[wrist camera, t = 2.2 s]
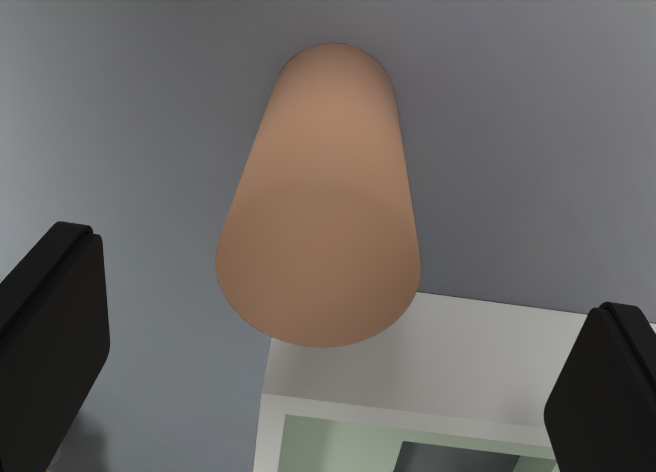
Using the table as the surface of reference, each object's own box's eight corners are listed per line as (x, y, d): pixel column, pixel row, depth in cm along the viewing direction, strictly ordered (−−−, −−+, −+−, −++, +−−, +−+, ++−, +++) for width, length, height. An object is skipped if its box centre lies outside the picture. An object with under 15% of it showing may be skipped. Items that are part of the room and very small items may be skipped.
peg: (277, 34, 18) (219, 166, 10) (407, 53, 18) (443, 198, 10) (267, 153, 20) (212, 334, 12) (383, 169, 20) (398, 358, 13)
